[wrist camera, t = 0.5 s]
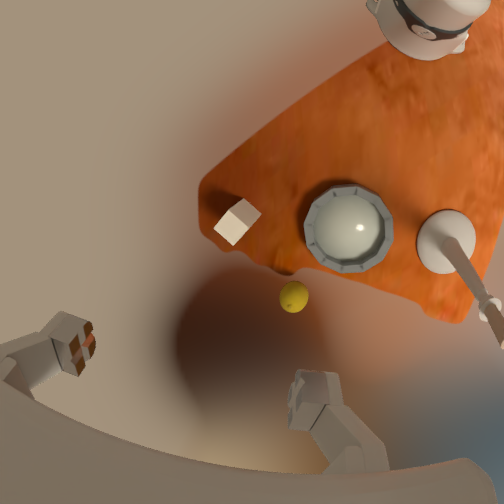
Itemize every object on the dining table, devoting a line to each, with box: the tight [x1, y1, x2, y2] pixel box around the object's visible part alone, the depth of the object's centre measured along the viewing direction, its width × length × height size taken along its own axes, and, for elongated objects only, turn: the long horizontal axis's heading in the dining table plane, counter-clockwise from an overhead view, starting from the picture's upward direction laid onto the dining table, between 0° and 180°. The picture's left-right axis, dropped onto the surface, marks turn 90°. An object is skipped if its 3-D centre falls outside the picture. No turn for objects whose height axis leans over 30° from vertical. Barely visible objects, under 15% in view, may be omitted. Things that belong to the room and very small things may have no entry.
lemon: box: [280, 281, 308, 313], centre depth 58 cm, size 6×6×8 cm
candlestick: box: [417, 210, 504, 349], centre depth 35 cm, size 13×13×30 cm
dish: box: [304, 184, 394, 273], centre depth 52 cm, size 16×16×3 cm
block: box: [214, 198, 261, 246], centre depth 55 cm, size 5×5×8 cm
